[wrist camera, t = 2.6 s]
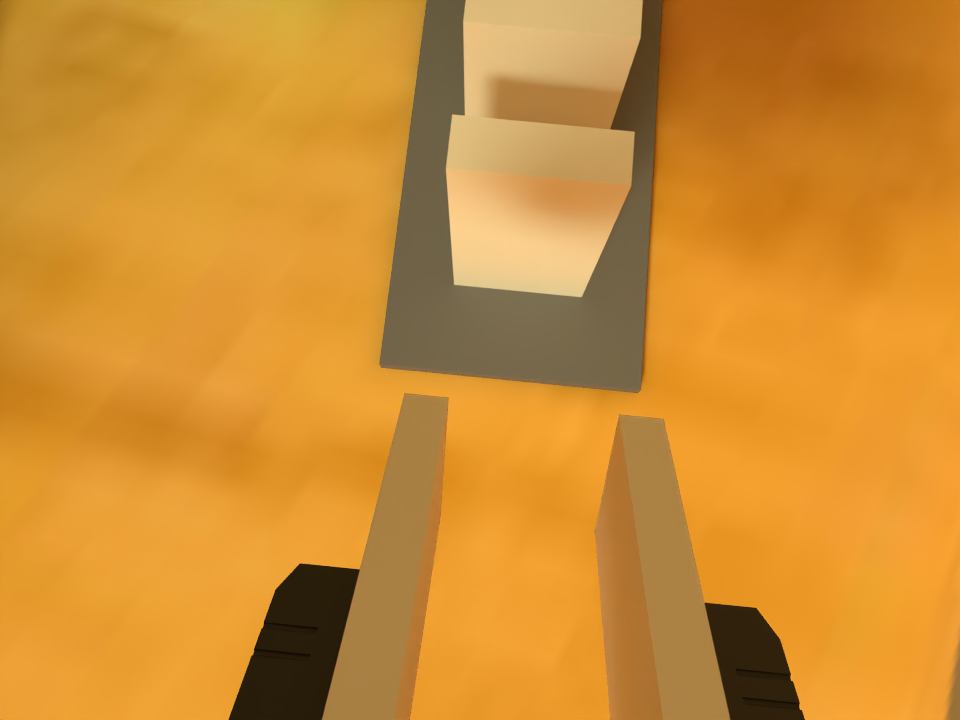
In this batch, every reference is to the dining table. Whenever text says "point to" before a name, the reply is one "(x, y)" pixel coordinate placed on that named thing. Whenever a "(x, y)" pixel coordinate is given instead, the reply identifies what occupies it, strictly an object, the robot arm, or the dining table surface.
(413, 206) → the mat
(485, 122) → the domino
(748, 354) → the dining table surface
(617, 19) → the domino
